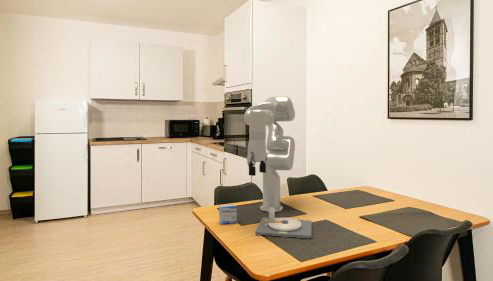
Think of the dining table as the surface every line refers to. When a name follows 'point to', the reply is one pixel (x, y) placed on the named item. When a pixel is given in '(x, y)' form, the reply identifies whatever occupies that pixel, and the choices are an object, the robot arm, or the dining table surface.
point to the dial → (282, 222)
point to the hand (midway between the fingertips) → (257, 173)
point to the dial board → (300, 233)
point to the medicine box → (227, 213)
